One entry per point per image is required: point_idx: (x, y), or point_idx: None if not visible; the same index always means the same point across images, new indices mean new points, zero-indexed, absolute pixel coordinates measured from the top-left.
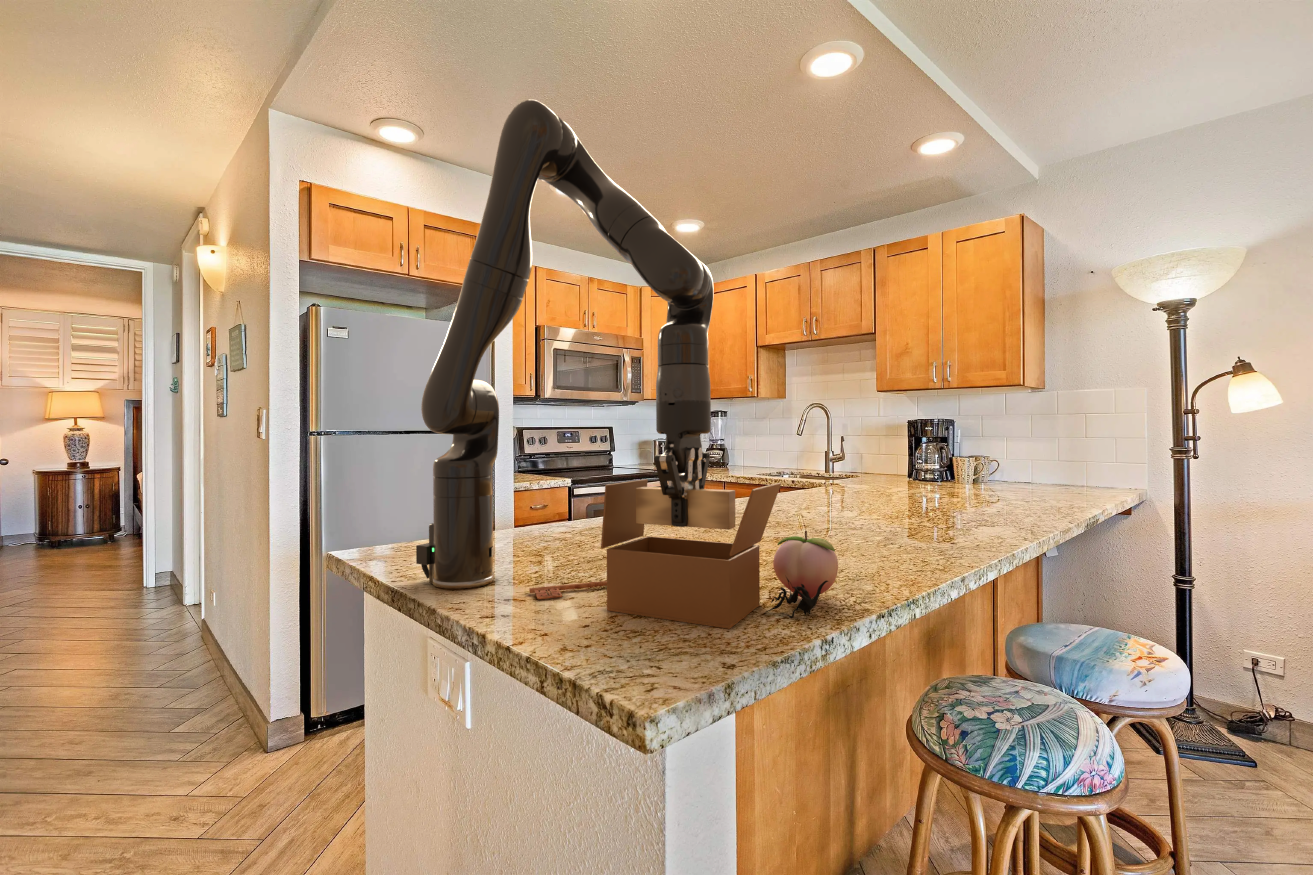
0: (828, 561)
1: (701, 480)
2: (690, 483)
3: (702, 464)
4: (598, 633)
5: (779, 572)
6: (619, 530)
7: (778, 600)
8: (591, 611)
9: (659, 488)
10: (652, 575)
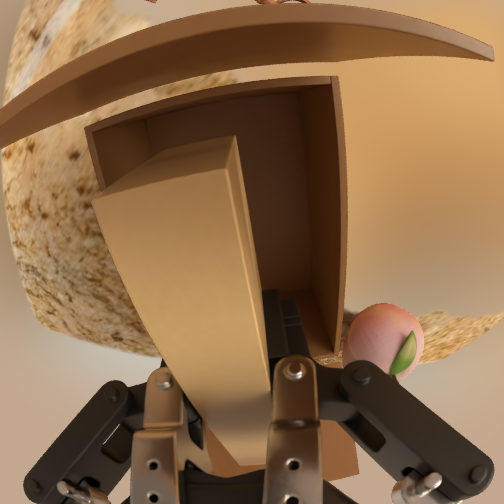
0: None
1: (350, 434)
2: (343, 406)
3: (400, 478)
4: (69, 192)
5: (355, 327)
6: (148, 86)
7: None
8: (123, 100)
9: (182, 341)
10: None
